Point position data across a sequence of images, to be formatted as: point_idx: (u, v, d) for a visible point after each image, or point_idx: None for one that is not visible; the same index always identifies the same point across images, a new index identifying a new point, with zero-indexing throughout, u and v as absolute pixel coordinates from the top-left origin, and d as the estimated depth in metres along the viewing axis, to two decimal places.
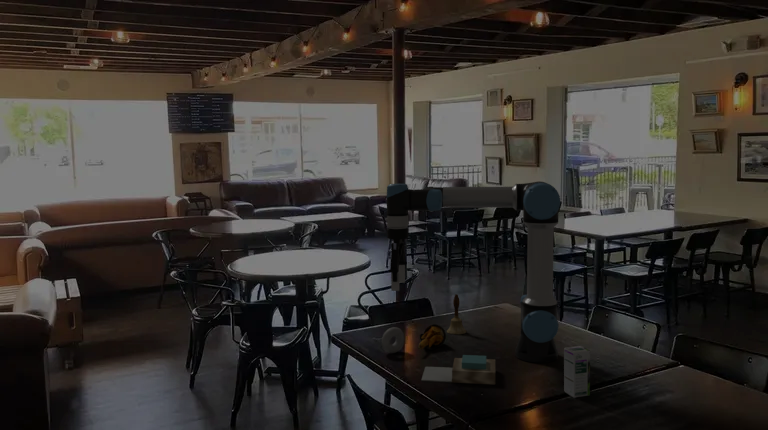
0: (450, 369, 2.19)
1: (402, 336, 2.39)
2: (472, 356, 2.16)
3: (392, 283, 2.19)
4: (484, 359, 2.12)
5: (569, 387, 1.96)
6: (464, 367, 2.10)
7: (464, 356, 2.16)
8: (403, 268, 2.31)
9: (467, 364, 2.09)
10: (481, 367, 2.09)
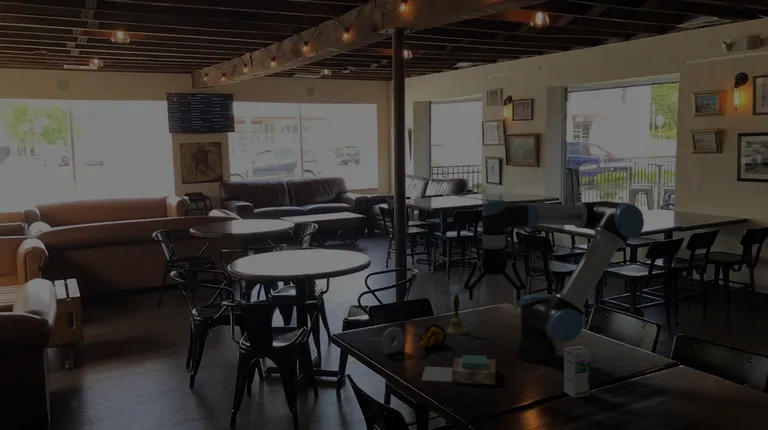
0: (450, 369, 2.19)
1: (402, 336, 2.39)
2: (472, 356, 2.16)
3: None
4: (484, 359, 2.12)
5: (569, 387, 1.96)
6: (464, 367, 2.10)
7: (464, 356, 2.16)
8: (514, 294, 2.09)
9: (467, 364, 2.09)
10: (481, 367, 2.09)
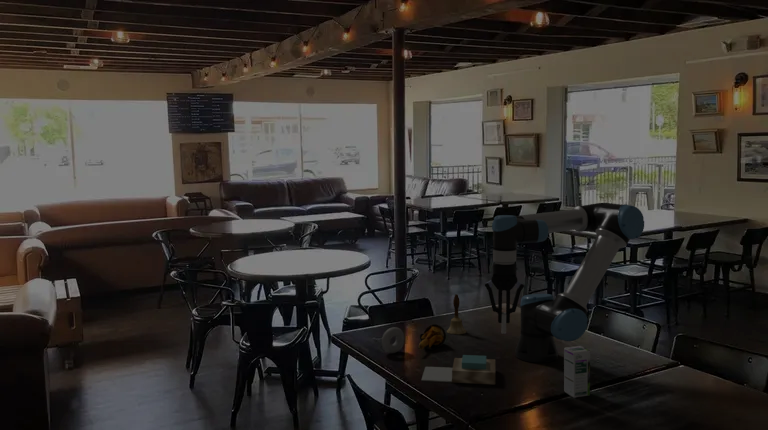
0: (450, 369, 2.19)
1: (402, 336, 2.39)
2: (472, 356, 2.16)
3: None
4: (484, 359, 2.12)
5: (569, 387, 1.96)
6: (464, 367, 2.10)
7: (464, 356, 2.16)
8: None
9: (467, 364, 2.09)
10: (481, 367, 2.09)
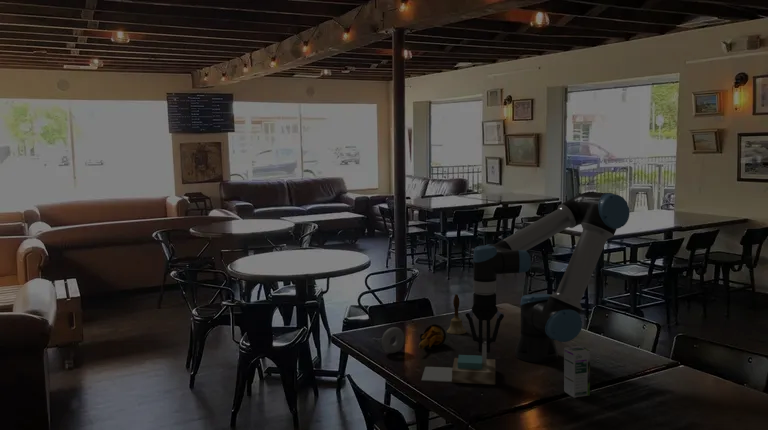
0: (450, 369, 2.19)
1: (402, 336, 2.39)
2: (468, 356, 2.16)
3: None
4: (480, 359, 2.13)
5: (569, 387, 1.96)
6: (460, 367, 2.10)
7: (460, 356, 2.16)
8: None
9: (463, 364, 2.10)
10: (477, 367, 2.09)
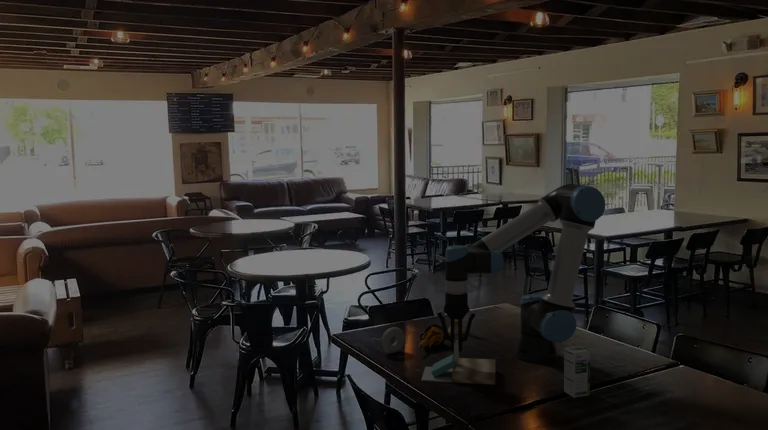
0: (450, 369, 2.19)
1: (402, 336, 2.39)
2: (441, 361, 2.18)
3: None
4: (451, 358, 2.14)
5: (569, 387, 1.96)
6: (435, 375, 2.12)
7: (434, 365, 2.18)
8: None
9: (436, 371, 2.12)
10: (449, 367, 2.11)
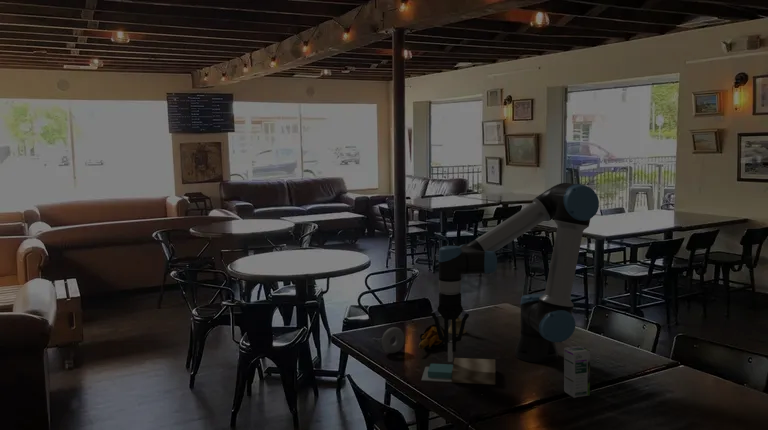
0: None
1: (402, 336, 2.39)
2: (439, 365, 2.18)
3: None
4: (451, 368, 2.15)
5: (569, 387, 1.96)
6: (430, 376, 2.12)
7: (431, 365, 2.18)
8: None
9: (433, 373, 2.12)
10: (446, 376, 2.11)
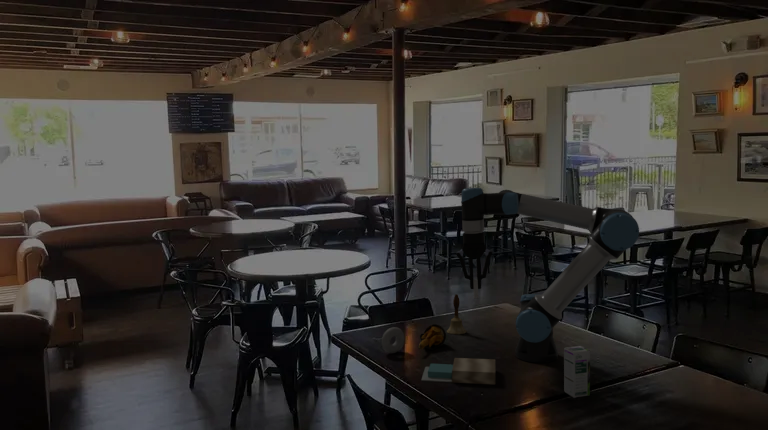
0: None
1: (402, 336, 2.39)
2: (439, 365, 2.18)
3: None
4: (451, 368, 2.15)
5: (569, 387, 1.96)
6: (430, 376, 2.12)
7: (431, 365, 2.18)
8: None
9: (433, 373, 2.12)
10: (446, 376, 2.11)
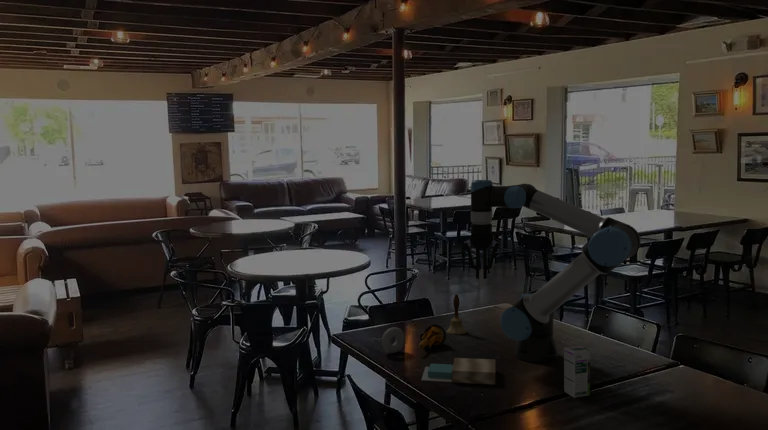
0: None
1: (402, 336, 2.39)
2: (439, 365, 2.18)
3: None
4: (451, 368, 2.15)
5: (569, 387, 1.96)
6: (430, 376, 2.12)
7: (431, 365, 2.18)
8: None
9: (433, 373, 2.12)
10: (446, 376, 2.11)
